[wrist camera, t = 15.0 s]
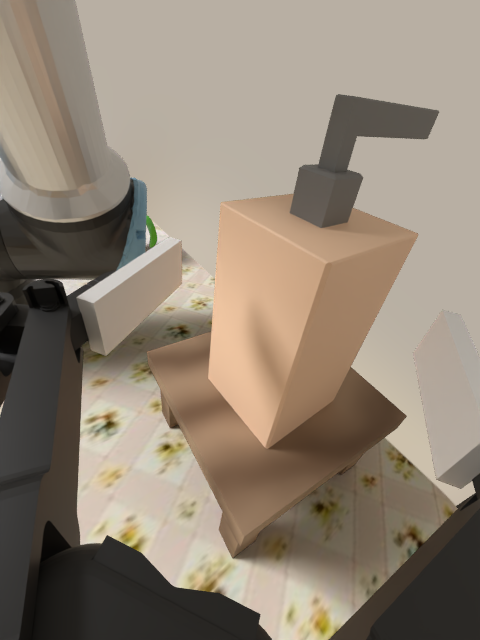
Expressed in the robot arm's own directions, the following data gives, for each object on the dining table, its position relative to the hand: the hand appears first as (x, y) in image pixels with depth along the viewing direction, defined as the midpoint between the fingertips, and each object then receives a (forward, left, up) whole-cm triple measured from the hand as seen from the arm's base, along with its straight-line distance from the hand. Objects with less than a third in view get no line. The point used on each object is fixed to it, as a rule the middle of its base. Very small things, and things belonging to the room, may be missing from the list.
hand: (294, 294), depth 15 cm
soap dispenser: (-3, +6, -14) cm, 16 cm away
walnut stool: (-4, +5, -24) cm, 24 cm away
